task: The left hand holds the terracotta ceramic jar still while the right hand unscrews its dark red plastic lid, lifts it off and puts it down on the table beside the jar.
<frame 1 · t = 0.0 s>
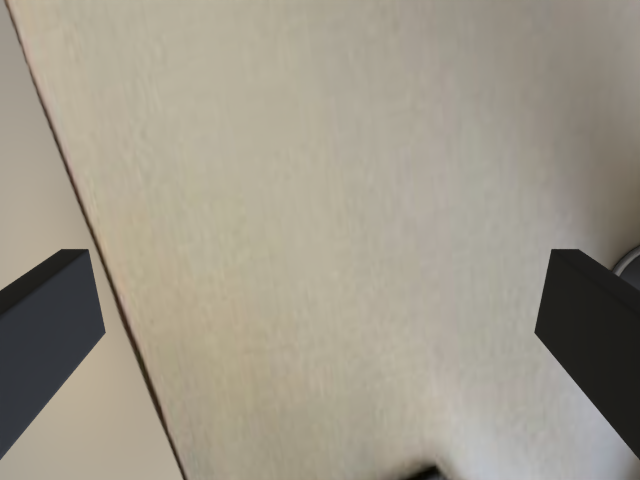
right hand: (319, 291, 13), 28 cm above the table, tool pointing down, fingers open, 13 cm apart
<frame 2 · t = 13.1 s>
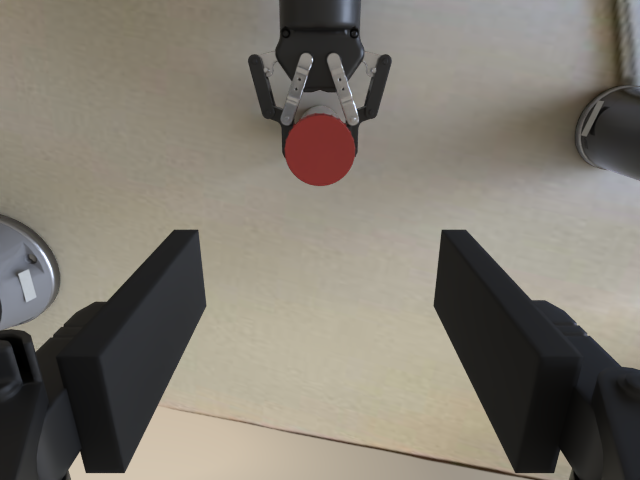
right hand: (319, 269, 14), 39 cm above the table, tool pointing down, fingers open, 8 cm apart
left hand: (319, 160, 45), fingers closed on jar, 5 cm apart
lid: (319, 151, 35), point 16 cm above the table, screwed on, not yet turned
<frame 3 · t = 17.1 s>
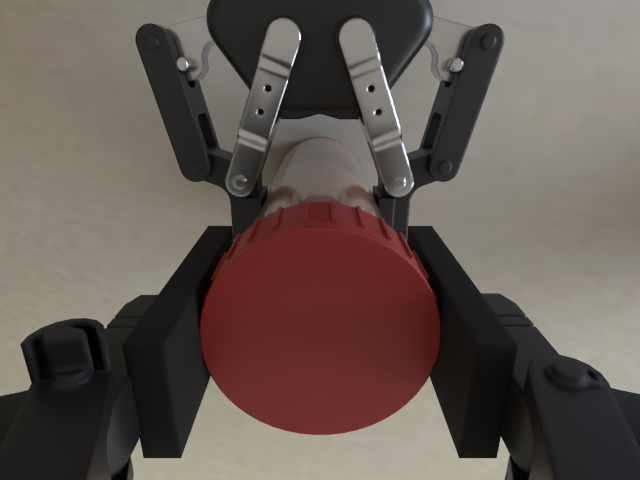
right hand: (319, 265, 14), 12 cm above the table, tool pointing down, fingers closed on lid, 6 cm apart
left hand: (319, 266, 20), fingers closed on jar, 5 cm apart
lid: (320, 333, 11), point 16 cm above the table, screwed on, not yet turned, touching right hand
jar: (320, 180, 26), on the table, touching left hand
when the right hand's fingers open (12 cm above the table, at t = 18.5 s): lid stays where it is, point 16 cm above the table.
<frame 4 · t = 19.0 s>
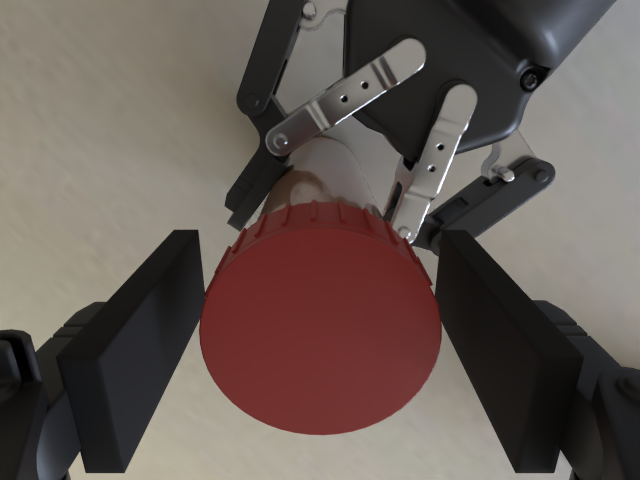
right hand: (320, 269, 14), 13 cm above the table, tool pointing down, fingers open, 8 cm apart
left hand: (286, 254, 20), fingers closed on jar, 5 cm apart
lid: (320, 333, 10), point 16 cm above the table, turned 86° so far, risen 0.2 cm, still on its thread
jar: (320, 179, 26), on the table, touching left hand
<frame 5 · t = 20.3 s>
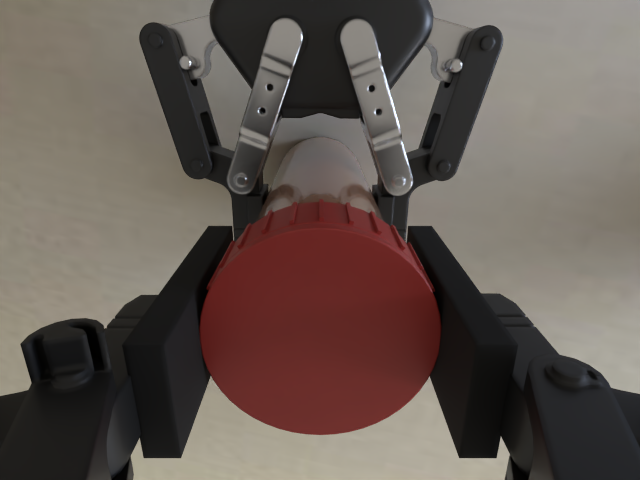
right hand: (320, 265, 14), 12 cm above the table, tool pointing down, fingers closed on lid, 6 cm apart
left hand: (318, 264, 21), fingers closed on jar, 5 cm apart
lid: (320, 333, 10), point 16 cm above the table, turned 86° so far, risen 0.2 cm, still on its thread, touching right hand
jar: (320, 179, 26), on the table, touching left hand
when the right hand's fingers open (0 cm above the table, at t = 28.8 s): lid drops 2 cm, point 2 cm above the table.
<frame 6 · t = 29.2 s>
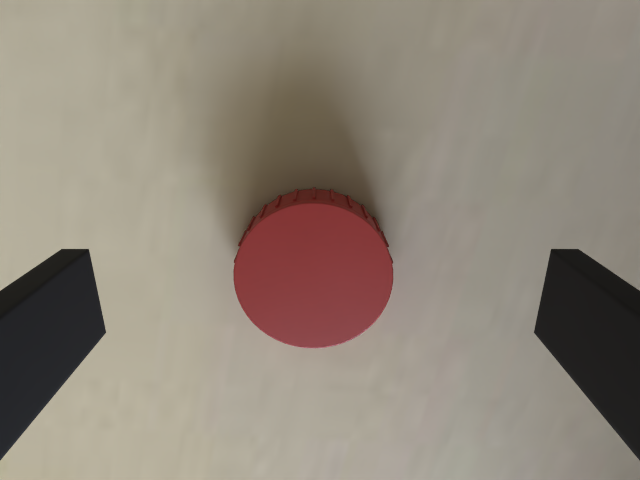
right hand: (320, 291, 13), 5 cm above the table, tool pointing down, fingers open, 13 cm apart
lid: (313, 276, 16), point 2 cm above the table, off its thread
when the left hand's fingers open (7 cm above the table, at t = 29.5 s): jar stays where it is, on the table.
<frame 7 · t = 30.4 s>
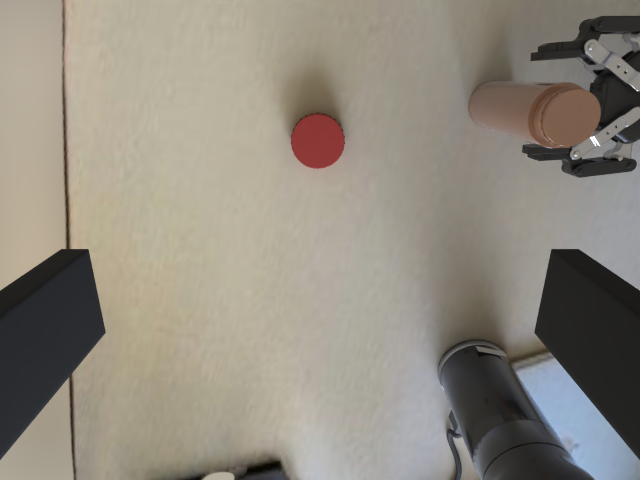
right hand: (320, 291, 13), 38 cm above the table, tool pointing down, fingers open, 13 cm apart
left hand: (529, 104, 41), fingers open, 8 cm apart
lid: (317, 141, 47), point 2 cm above the table, off its thread
jar: (491, 105, 47), on the table
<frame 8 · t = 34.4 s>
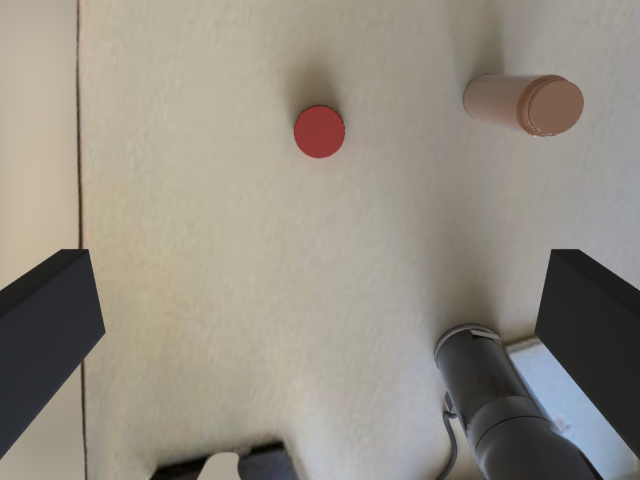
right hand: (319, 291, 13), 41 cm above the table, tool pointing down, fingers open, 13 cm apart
lid: (319, 132, 49), point 2 cm above the table, off its thread
jar: (484, 97, 49), on the table
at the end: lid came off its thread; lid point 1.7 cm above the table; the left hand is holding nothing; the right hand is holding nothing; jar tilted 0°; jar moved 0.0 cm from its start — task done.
